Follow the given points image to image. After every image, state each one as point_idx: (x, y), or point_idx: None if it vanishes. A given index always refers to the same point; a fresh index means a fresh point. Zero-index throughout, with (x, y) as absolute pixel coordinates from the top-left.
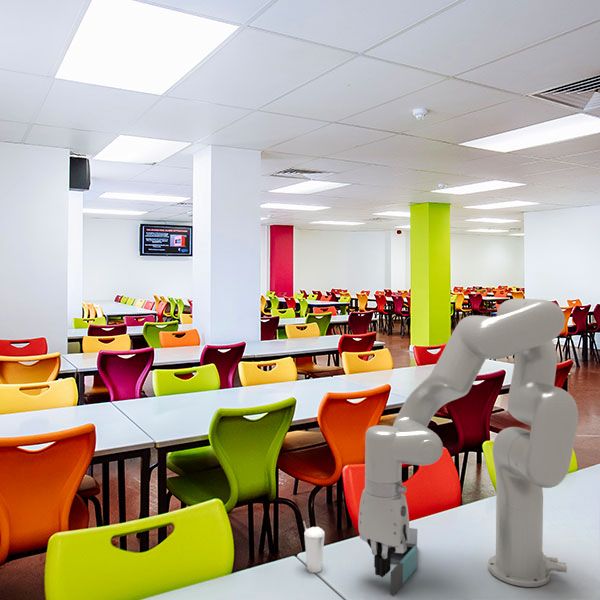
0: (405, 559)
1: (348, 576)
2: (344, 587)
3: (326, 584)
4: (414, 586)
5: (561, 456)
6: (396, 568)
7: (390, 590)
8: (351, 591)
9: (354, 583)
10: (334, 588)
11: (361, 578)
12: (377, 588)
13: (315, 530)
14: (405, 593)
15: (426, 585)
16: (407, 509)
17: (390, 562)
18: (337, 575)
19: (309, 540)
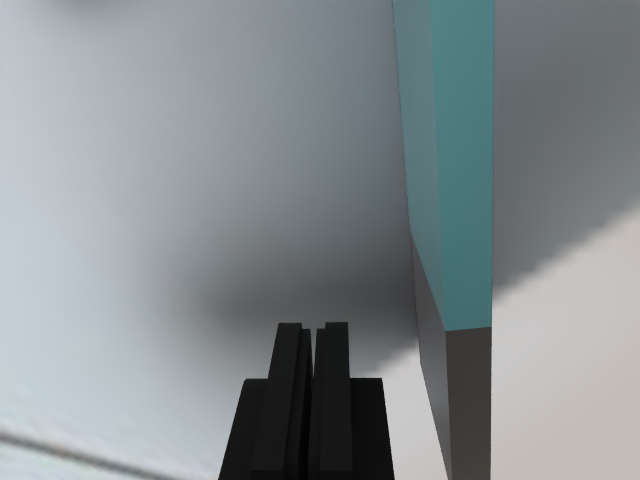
0: (479, 227)
1: (84, 344)
2: (164, 436)
3: (78, 463)
4: (521, 168)
5: None
6: (474, 436)
7: (424, 377)
8: (219, 442)
9: (171, 380)
10: (136, 466)
11: (158, 315)
12: (312, 345)
13: None
14: (496, 287)
15: (612, 84)
16: None
17: (388, 430)
18: (33, 372)
19: None
